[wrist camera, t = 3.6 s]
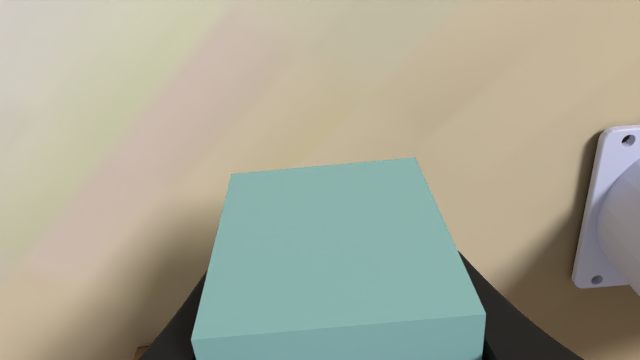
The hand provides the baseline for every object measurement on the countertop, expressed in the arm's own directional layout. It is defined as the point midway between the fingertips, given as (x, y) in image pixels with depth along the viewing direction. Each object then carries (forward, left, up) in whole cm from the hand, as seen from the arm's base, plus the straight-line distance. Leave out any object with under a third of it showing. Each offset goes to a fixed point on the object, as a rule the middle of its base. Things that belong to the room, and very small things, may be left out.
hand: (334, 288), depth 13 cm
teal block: (0, 0, -2) cm, 2 cm away
